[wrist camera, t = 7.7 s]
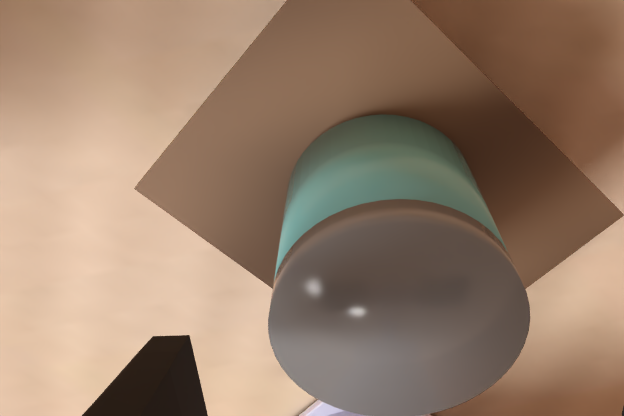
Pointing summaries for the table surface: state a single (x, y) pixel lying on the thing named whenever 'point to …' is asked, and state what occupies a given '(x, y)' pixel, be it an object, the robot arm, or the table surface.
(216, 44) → the table surface
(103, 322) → the table surface
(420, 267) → the cylinder
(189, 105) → the table surface
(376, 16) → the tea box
